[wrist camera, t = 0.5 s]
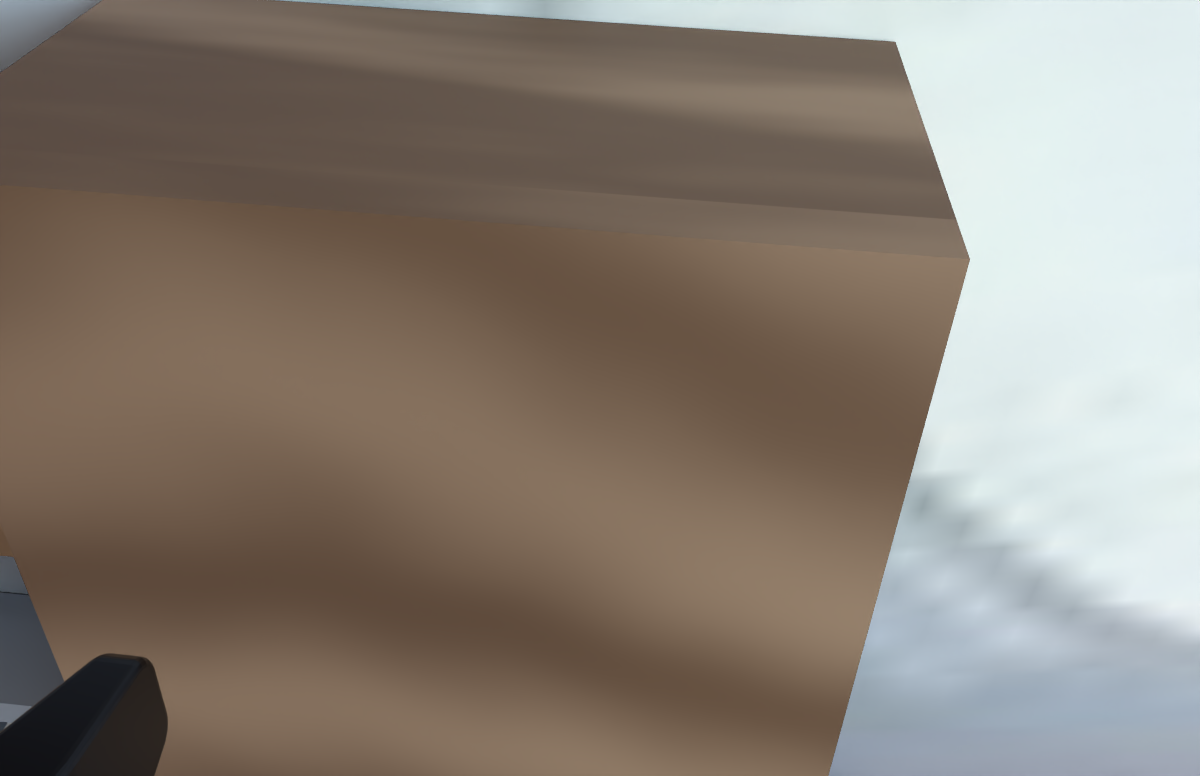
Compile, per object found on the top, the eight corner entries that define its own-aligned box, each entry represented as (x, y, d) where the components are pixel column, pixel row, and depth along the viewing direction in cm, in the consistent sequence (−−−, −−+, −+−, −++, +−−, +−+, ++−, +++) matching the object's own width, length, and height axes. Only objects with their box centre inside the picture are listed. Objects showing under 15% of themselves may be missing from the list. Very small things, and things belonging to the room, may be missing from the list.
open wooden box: (775, 642, 29) (787, 924, 23) (253, 592, 30) (133, 853, 24) (895, 42, 19) (969, 258, 13) (116, -11, 20) (-143, 173, 14)
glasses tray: (245, 814, 36) (199, 935, 33) (69, 795, 37) (7, 912, 34) (187, 610, 30) (124, 734, 27) (-23, 590, 31) (-110, 709, 28)
